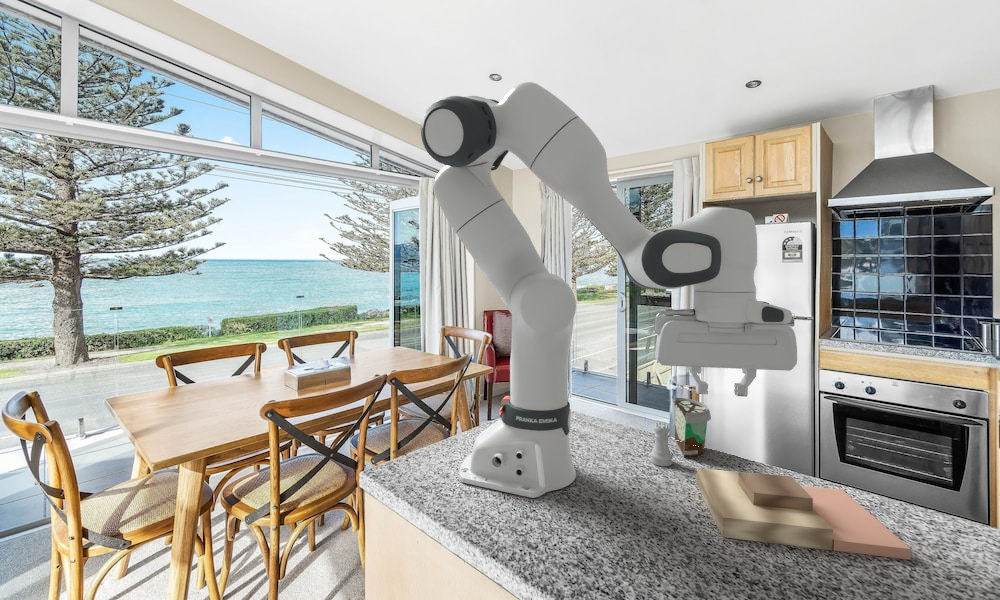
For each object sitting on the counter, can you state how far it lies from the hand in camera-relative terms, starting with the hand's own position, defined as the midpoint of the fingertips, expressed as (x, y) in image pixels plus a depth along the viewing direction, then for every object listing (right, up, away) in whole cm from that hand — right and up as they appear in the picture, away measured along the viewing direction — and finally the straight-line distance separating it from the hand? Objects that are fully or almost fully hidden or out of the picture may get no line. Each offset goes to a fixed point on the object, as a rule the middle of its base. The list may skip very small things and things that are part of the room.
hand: (721, 394), depth 68 cm
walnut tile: (+8, -16, -1) cm, 18 cm away
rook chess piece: (-3, -18, +18) cm, 26 cm away
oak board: (+5, -19, 0) cm, 20 cm away
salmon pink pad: (+17, -19, -3) cm, 26 cm away
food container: (+7, -18, +24) cm, 31 cm away
